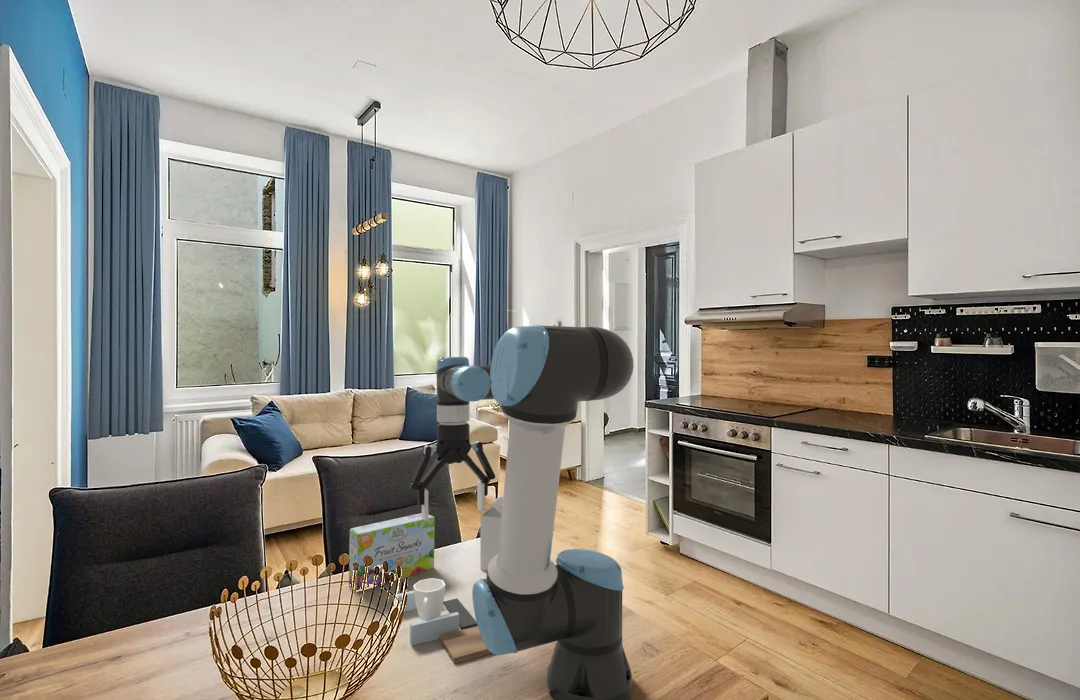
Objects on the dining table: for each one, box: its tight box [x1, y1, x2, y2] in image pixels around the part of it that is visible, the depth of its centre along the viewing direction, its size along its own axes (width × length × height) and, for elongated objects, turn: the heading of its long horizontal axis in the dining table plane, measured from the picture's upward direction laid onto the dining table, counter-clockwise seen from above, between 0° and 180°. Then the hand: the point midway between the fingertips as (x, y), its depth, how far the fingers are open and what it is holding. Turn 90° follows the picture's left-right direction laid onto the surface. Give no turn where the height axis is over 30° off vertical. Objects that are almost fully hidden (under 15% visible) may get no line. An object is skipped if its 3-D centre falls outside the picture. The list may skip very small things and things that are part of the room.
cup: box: [412, 577, 447, 621], centre depth 116 cm, size 7×10×8 cm
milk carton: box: [479, 494, 504, 572], centre depth 145 cm, size 7×7×19 cm
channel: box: [392, 590, 460, 647], centre depth 117 cm, size 15×10×4 cm, turn 28°
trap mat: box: [443, 598, 478, 630], centre depth 120 cm, size 13×4×1 cm, turn 28°
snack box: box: [348, 512, 436, 592], centre depth 138 cm, size 21×6×15 cm, turn 132°
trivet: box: [438, 626, 492, 665], centre depth 108 cm, size 9×9×1 cm
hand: (453, 514), depth 125 cm, fingers open, 13 cm apart
